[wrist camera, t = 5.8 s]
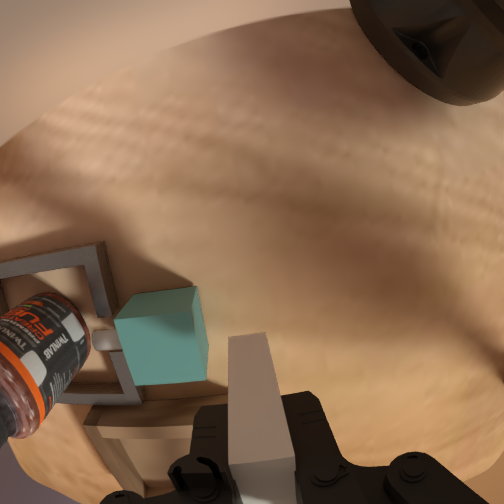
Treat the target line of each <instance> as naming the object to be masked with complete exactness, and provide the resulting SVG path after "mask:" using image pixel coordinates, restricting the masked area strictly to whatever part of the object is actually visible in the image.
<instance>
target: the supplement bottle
mask: <svg viewBox="0 0 504 504" xmlns="http://www.w3.org/2000/svg"><path fill="white" fill-rule="evenodd" d="M90 347H91V341H90V334H89V330H88V328H87V325H86V323H85V321H84V319H83V317H82V316H81V314H80V313H79V311H78V310H77V309H76V307H74V306H73V305H72V304H71V303H70V302H69V301H67V300H66V299H64V298H62V297H61V296H59V295H56V294H52V293H42V294H38V295H35V296H33V297H31V298H29V299H28V300H26V301H24V302H23V303H21V304H20V305H18V306H16V307H15V308H13V309H12V310H10V311H9V312H7V313H5V314H4V315H2V316H1V317H0V448H1V447H2V445H3V444H4V443H5V442H6V441H7V439H8V437H11V438H16V439H22V438H27V437H29V436H31V435H32V434H33V433H34V432H35V431H36V430H37V429H38V428H39V426H40V425H41V423H42V422H43V420H44V419H45V418H46V416H47V415H48V413H49V412H50V411H51V409H52V408H53V406H54V405H55V403H56V402H57V400H58V399H59V397H60V396H61V395H62V393H63V392H64V391H65V389H66V388H67V386H68V385H69V384H70V382H71V381H72V379H73V378H74V377H75V375H76V374H77V373H78V371H79V370H80V369H81V367H82V366H83V364H84V363H85V361H86V360H87V358H88V355H89V352H90Z"/></svg>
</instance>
